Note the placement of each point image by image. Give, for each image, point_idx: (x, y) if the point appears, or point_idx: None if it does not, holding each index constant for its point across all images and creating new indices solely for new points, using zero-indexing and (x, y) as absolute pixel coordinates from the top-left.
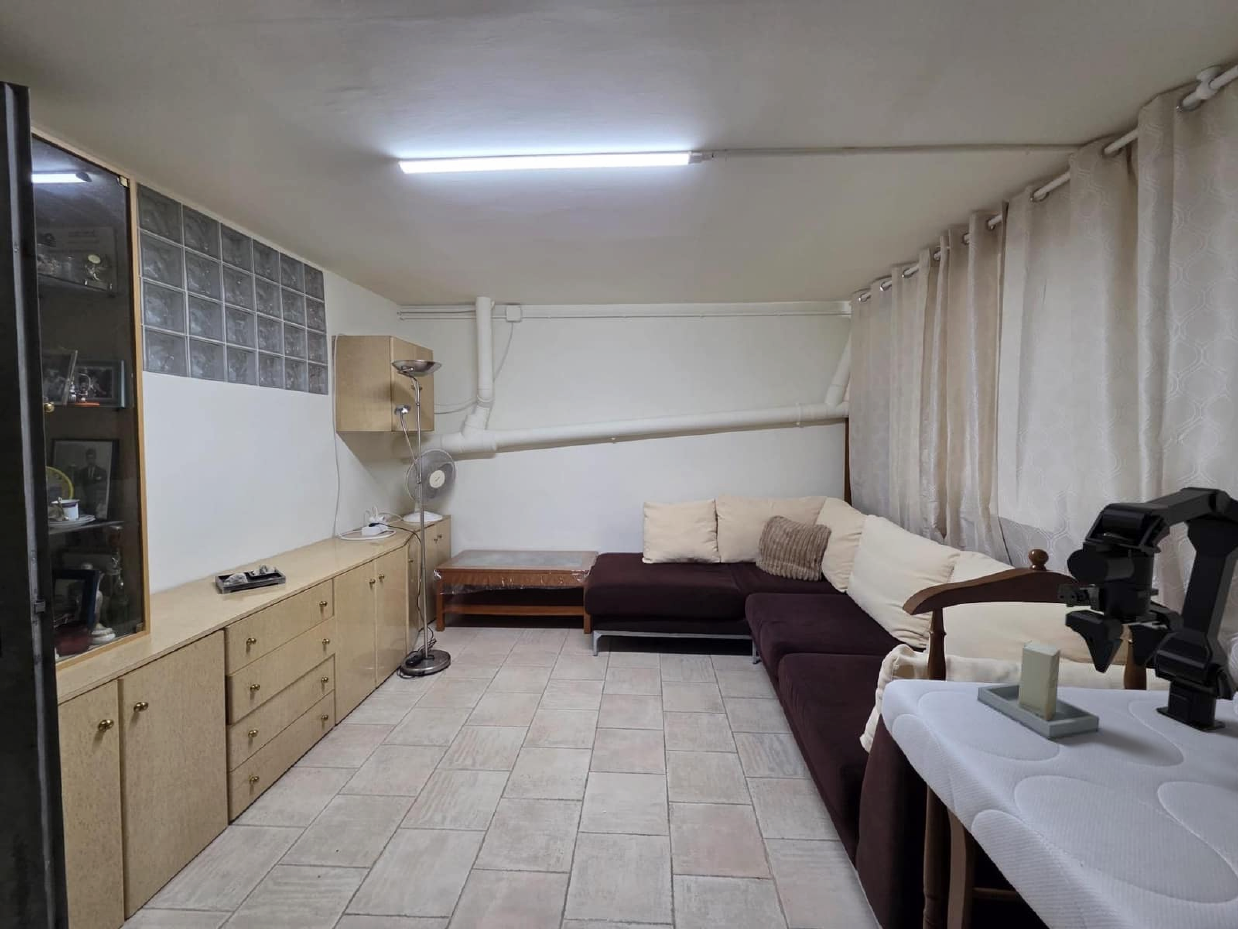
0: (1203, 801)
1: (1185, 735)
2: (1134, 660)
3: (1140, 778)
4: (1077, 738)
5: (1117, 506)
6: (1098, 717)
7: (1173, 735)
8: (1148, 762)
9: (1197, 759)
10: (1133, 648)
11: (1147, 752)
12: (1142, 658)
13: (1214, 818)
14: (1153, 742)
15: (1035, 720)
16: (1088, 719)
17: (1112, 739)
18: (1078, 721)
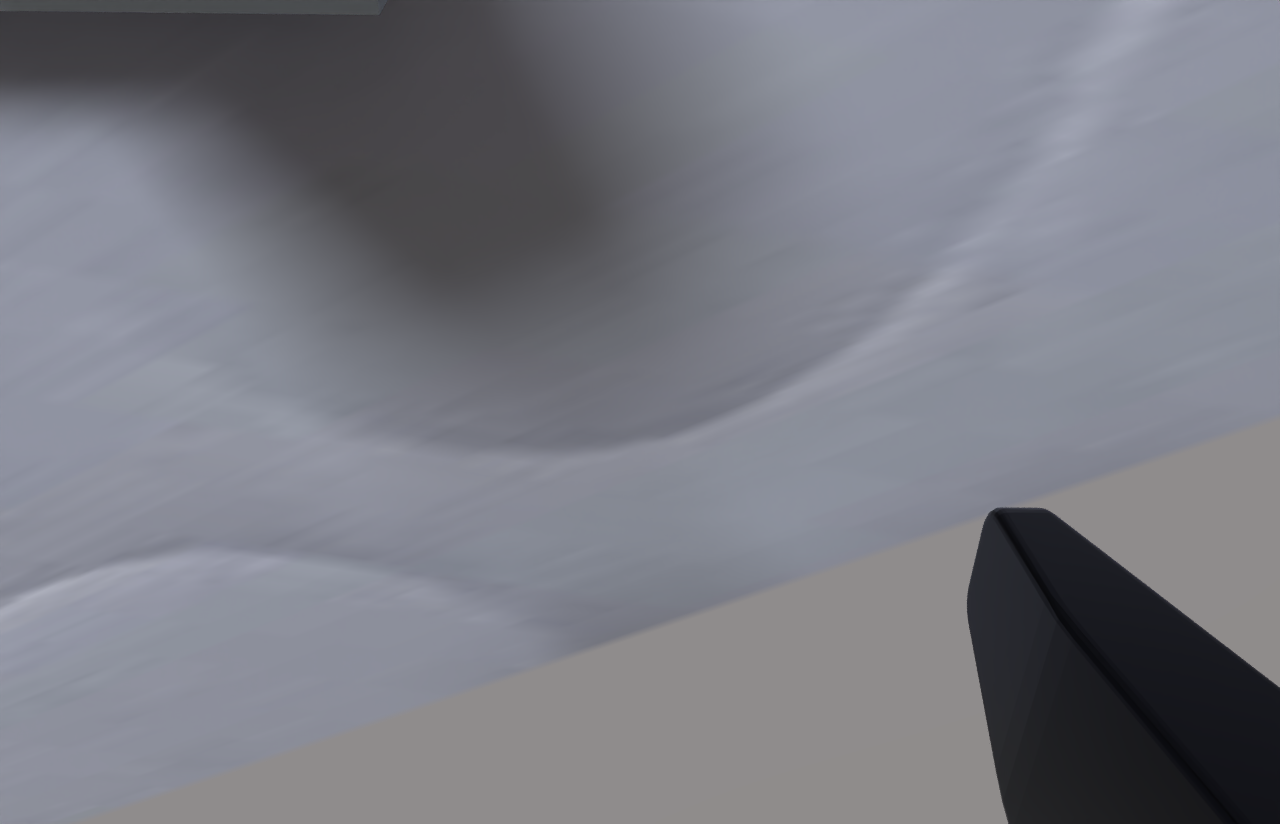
0: (248, 685)
1: (1252, 215)
2: (1015, 567)
3: (51, 498)
4: None
5: None
6: (372, 8)
7: (1137, 191)
8: (349, 397)
9: (822, 445)
10: (1154, 778)
11: (513, 312)
12: (1011, 774)
13: (138, 761)
14: (773, 226)
15: None
16: (183, 10)
17: (408, 106)
18: (4, 8)
